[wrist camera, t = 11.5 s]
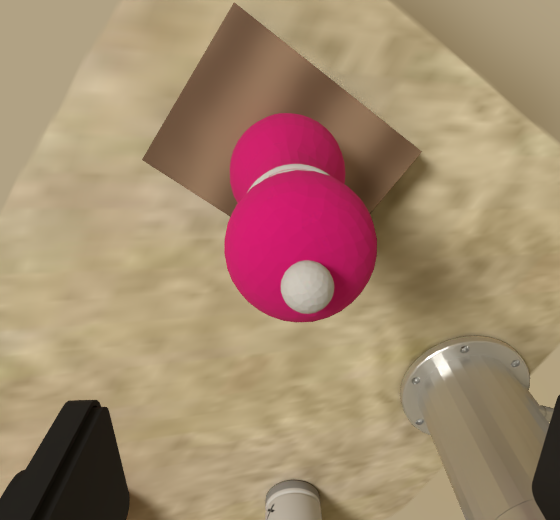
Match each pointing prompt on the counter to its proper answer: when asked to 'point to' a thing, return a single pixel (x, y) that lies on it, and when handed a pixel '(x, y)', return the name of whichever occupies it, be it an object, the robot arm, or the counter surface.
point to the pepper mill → (296, 222)
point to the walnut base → (260, 104)
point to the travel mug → (293, 501)
